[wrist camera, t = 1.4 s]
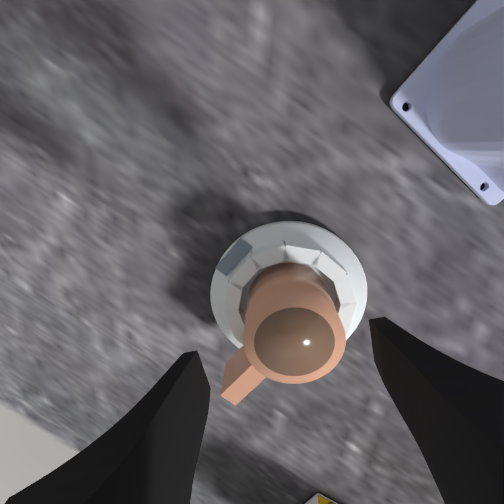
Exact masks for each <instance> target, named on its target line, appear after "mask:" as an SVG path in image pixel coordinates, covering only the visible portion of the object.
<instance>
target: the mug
mask: <svg viewBox="0 0 504 504" xmlns="http://www.w3.org/2000/svg"><path fill="white" fill-rule="evenodd" d="M345 345H346V334H345V330H344V327H343V325H342V322H341V320H340V318H339V315H338V313H337V311H336V308H335V306H334V304H333V301H332V299H331V297H330V295H329V292H328V290H327V288H326V285H325V283H324V281H323V280H322V278H321V277H320V276H319V275H318V274H317V273H316V272H315V271H314V270H312V269H311V268H309V267H307V266H305V265H302V264H298V263H291V262H288V263H279V264H275V265H273V266H270V267H268V268H266V269H265V270H263V271H262V272H261V273H260V274H259V275H258V276H257V277H256V278H255V279H254V281H253V282H252V284H251V287H250V290H249V294H248V303H247V312H246V320H245V329H244V338H243V346H242V347H241V348H240V349H239V350H238V351H237V352H236V353H235V354H234V355H233V356H232V357H231V358H230V359H229V360H228V361H227V362H226V367H225V372H224V378H223V383H222V389H221V394H220V396H222V397H223V398H225V399H226V400H228V401H229V402H231V403H232V404H234V405H235V406H236V405H237V404H238V403H239V402H240V401H241V400H242V399H243V398H244V397H245V396H246V395H247V394H249V393H250V392H251V391H252V390H253V389H254V388H255V387H256V386H257V385H258V384H259V383H260V382H261V381H263V380H264V379H265V378H266V377H268V378H270V379H272V380H275V381H278V382H282V383H290V384H298V383H305V382H310V381H313V380H316V379H318V378H320V377H322V376H324V375H326V374H327V373H328V372H330V371H331V370H332V369H333V368H334V367H335V366H336V365H337V363H338V362H339V361H340V359H341V357H342V355H343V353H344V350H345Z"/></svg>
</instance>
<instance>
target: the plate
mask: <svg viewBox="0 0 504 504" xmlns="http://www.w3.org/2000/svg"><path fill="white" fill-rule="evenodd" d="M288 262H291V263H298V264H302V265H305V266H307V267H309V268H311V269H312V270H314V271H315V272H316V273H317V274H318V275H319V276H320V277H321V278H322V280H323V281H324V283H325V285H326V288H327V290H328V292H329V295H330V297H331V299H332V301H333V304H334V306H335V308H336V311H337V313H338V315H339V318H340V320H341V322H342V325H343V327H344V330H345V334H346V340H347V339H348V338H349V337H350V336H351V334H352V333H353V332H354V330H355V329H356V328H357V326H358V324H359V322H360V321H361V318H362V316H363V314H364V310H365V306H366V301H367V283H366V278H365V274H364V271H363V268H362V266H361V264H360V262H359V260H358V258H357V257H356V256H355V254H354V253H353V252H352V250H351V249H350V248H349V247H348V246H347V245H346V244H345V243H344V242H343V241H342V240H341V239H340V238H339V237H337V236H336V235H335V234H333V233H332V232H330V231H328V230H326V229H325V228H322V227H320V226H317V225H315V224H311V223H307V222H301V221H278V222H271V223H268V224H264V225H261V226H259V227H256V228H254V229H252V230H250V231H248V232H246V233H245V234H243V235H242V236H240V237H239V238H238V239H237V240H235V241H234V242H233V243H232V244H231V245H230V246H229V247H228V249H227V250H226V251H225V253H224V254H223V255H222V257H221V259H220V261H219V263H218V265H217V266H216V267H215V268H216V270H215V272H214V275H213V278H212V283H211V292H210V298H211V306H212V311H213V314H214V317H215V319H216V322H217V324H218V325H219V327H220V329H221V330H222V332H223V333H224V334H225V336H226V337H227V338H228V339H229V340H230V341H231V342H232V343H233V344H234V345H236V346H237V347H238V348H239V349H240V348H241V347H242V346H243V338H244V329H245V320H246V312H247V303H248V294H249V290H250V287H251V284H252V282H253V281H254V279H255V278H256V277H257V276H258V275H259V274H260V273H261V272H262V271H263V270H265V269H266V268H268V267H270V266H273V265H275V264H279V263H288Z"/></svg>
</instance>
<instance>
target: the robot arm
mask: <svg viewBox="0 0 504 504" xmlns="http://www.w3.org/2000/svg"><path fill="white" fill-rule="evenodd" d="M389 103H390V107H391V108H392V110H393V111H394V112H395V113H396V114H397V115H398V116H399V117H400V118H401V119H402V120H403V121H404V122H405V123H406V124H407V125H408V126H409V127H410V128H411V129H412V130H413V131H414V132H415V133H416V134H417V135H418V136H419V137H420V138H421V139H422V140H423V141H424V142H425V143H426V144H427V145H428V146H429V147H430V148H431V149H432V150H433V151H434V152H435V153H436V154H437V155H438V156H439V157H440V158H441V159H442V160H443V161H444V162H445V163H446V165H447V166H448V167H449V168H450V169H451V170H452V171H453V172H454V173H455V174H456V175H457V176H458V177H459V178H460V179H461V180H462V181H463V182H464V183H465V184H466V185H467V186H468V187H469V188H470V189H471V190H472V191H473V192H474V193H475V194H476V195H477V196H478V197H479V198H480V199H481V200H482V201H483V202H484V203H485V204H488V205H496V204H498V203H499V202H500V201H501V200H503V199H504V0H476V2H475V3H474V4H473V5H472V6H471V7H470V8H469V9H468V11H467V12H466V13H465V14H464V15H463V16H462V17H461V19H460V20H459V21H458V22H457V23H456V24H455V25H454V26H453V28H452V29H451V30H450V31H449V32H448V33H447V34H446V35H445V37H444V38H443V39H442V40H441V41H440V42H439V43H438V44H437V46H436V47H435V48H434V49H433V50H432V51H431V52H430V53H429V55H428V56H427V57H426V58H425V59H424V60H423V61H422V62H421V64H420V65H419V66H418V67H417V68H416V69H415V70H414V72H413V73H412V74H411V75H410V76H409V77H408V78H407V79H406V81H405V82H404V83H403V84H402V85H401V86H400V87H399V88H398V90H397V91H396V92H395V93H394V94H393V95H392V97H391V98H390V102H389ZM404 103H407V104H408V106H409V107H408V110H407V111H406V112H405V111H403V109H402V106H403V104H404ZM482 183H484V184H485V186H484V188H483V189H482V190H480V186H481V184H482ZM369 324H370V332H371V339H372V347H373V354H374V362H375V364H376V366H377V369H378V371H379V374H380V376H381V378H382V381H383V383H384V385H385V387H386V389H387V391H388V392H389V394H390V396H391V398H392V400H393V401H394V403H395V405H396V407H397V408H398V410H399V412H400V414H401V415H402V417H403V419H404V421H405V422H406V424H407V426H408V428H409V429H410V431H411V433H412V435H413V436H414V438H415V440H416V442H417V444H418V446H419V448H420V450H421V452H422V454H423V456H424V458H425V460H426V462H427V465H428V467H429V469H430V471H431V473H432V475H433V478H434V480H435V482H436V484H437V487H438V489H439V491H440V493H441V496H442V498H443V500H444V502H445V504H504V381H502V380H499V379H497V378H494V377H492V376H489V375H487V374H485V373H482V372H480V371H478V370H476V369H474V368H471V367H469V366H467V365H465V364H463V363H461V362H459V361H457V360H455V359H453V358H451V357H449V356H447V355H445V354H443V353H441V352H440V351H438V350H436V349H434V348H433V347H431V346H429V345H427V344H426V343H424V342H422V341H421V340H419V339H418V338H416V337H414V336H413V335H411V334H410V333H408V332H407V331H405V330H404V329H402V328H401V327H399V326H398V325H396V324H395V323H393V322H392V321H390V320H389V319H387V318H386V317H381V318H375V319H370V320H369ZM210 389H211V388H210V385H209V383H208V380H207V377H206V374H205V371H204V368H203V366H202V363H201V360H200V357H199V354H198V352H197V351H192V352H187V353H183V354H182V355H181V356H180V357H179V358H178V359H177V361H176V362H175V363H174V364H173V365H172V366H171V367H170V369H169V370H168V371H167V372H166V373H165V374H164V375H163V376H162V378H161V379H160V380H159V381H158V382H157V383H156V384H155V385H154V386H153V388H152V389H151V390H150V391H149V392H148V393H147V394H146V395H145V396H144V397H143V398H142V399H141V400H140V401H139V402H138V403H137V404H136V405H135V406H134V407H133V408H132V409H131V410H130V411H129V412H128V413H127V414H126V415H125V416H124V417H123V418H122V419H120V420H119V421H118V422H117V423H116V424H115V425H114V426H113V427H111V428H110V429H109V430H108V431H107V432H105V433H104V434H103V435H102V436H100V437H99V438H98V439H96V440H95V441H94V442H93V443H91V444H90V445H89V446H88V447H86V448H85V449H84V450H82V451H81V452H80V453H78V454H77V455H76V456H74V457H73V458H71V459H70V460H68V461H67V462H66V463H64V464H63V465H61V466H60V467H58V468H57V469H55V470H54V471H52V472H51V473H49V474H48V475H46V476H44V477H43V478H41V479H40V480H38V481H36V482H35V483H33V484H31V485H30V486H28V487H26V488H25V489H23V490H22V491H20V492H18V493H16V494H15V495H13V496H11V497H9V498H8V500H7V501H6V503H5V504H190V499H191V491H192V484H193V478H194V473H195V468H196V464H197V459H198V455H199V451H200V446H201V442H202V438H203V433H204V429H205V425H206V420H207V415H208V409H209V400H210Z"/></svg>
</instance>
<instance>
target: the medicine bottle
mask: <svg viewBox="0 0 504 504" xmlns="http://www.w3.org/2000/svg"><path fill="white" fill-rule="evenodd" d="M305 504H338V503H336V502H334V501H332V500H331V499H329V498H327V497H325V496H323V495H321V494H320V493H317V494H316V495H314V496H313V497H312V498H311V499H310V500H308V501H307V502H306V503H305Z"/></svg>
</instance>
